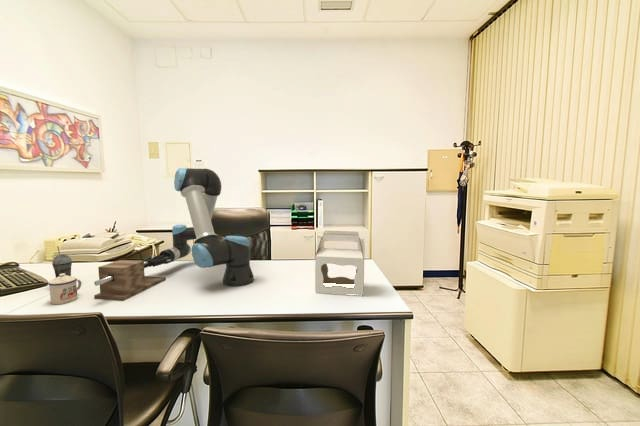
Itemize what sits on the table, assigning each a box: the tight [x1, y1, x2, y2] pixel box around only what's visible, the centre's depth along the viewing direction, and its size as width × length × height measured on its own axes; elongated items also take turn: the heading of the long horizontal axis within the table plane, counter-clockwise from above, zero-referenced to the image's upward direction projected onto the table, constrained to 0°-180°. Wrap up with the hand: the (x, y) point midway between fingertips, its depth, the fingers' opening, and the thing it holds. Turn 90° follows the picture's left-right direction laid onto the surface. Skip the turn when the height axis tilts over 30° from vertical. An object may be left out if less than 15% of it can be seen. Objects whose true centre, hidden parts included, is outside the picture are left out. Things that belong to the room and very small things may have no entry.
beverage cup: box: [52, 245, 73, 278], centre depth 141 cm, size 7×7×20 cm
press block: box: [93, 259, 167, 302], centre depth 138 cm, size 27×14×14 cm, turn 171°
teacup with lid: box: [47, 273, 83, 305], centre depth 126 cm, size 12×9×12 cm
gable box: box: [314, 230, 366, 296], centre depth 138 cm, size 22×13×28 cm, turn 80°
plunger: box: [93, 275, 114, 287], centre depth 131 cm, size 22×6×6 cm, turn 171°
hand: (136, 268), depth 141 cm, fingers closed
